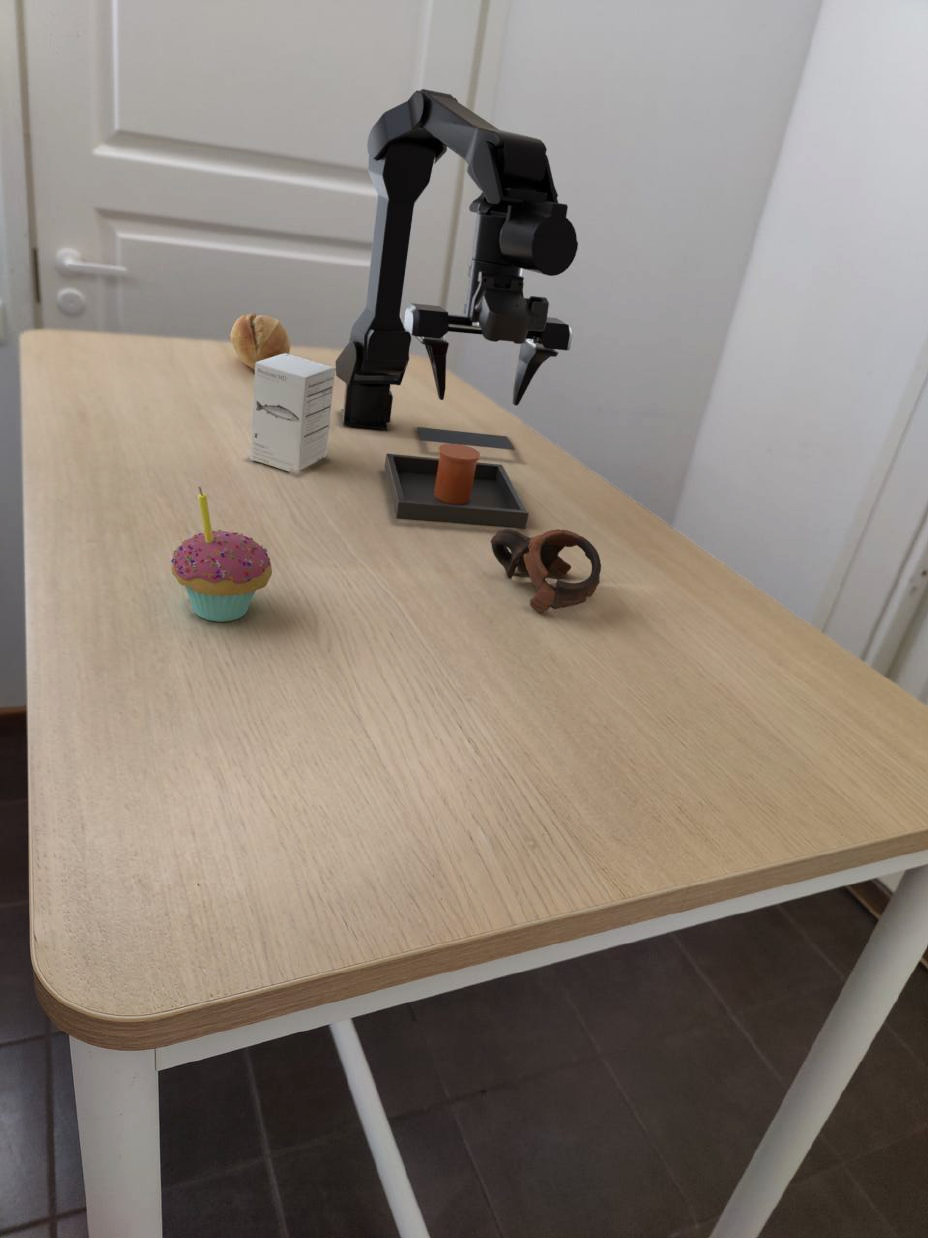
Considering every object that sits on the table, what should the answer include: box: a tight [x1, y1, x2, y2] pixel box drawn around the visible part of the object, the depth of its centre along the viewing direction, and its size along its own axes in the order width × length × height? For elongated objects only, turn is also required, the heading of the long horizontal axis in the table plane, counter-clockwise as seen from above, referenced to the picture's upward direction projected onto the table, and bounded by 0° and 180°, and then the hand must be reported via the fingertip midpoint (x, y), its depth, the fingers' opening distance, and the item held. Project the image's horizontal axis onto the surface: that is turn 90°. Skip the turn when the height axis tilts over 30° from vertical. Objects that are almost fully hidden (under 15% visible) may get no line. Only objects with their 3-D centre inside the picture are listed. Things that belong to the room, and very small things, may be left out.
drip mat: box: [416, 426, 515, 451], centre depth 130 cm, size 14×10×1 cm
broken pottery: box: [490, 528, 602, 614], centre depth 92 cm, size 12×10×8 cm
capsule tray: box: [384, 453, 529, 530], centre depth 110 cm, size 16×16×3 cm
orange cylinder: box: [434, 443, 481, 504], centre depth 108 cm, size 5×5×6 cm
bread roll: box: [230, 313, 291, 371], centre depth 146 cm, size 10×15×8 cm, turn 19°
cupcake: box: [171, 485, 273, 623], centre depth 77 cm, size 9×8×12 cm
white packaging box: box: [249, 353, 336, 472], centre depth 110 cm, size 7×7×13 cm
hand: (478, 401), depth 105 cm, fingers open, 9 cm apart
